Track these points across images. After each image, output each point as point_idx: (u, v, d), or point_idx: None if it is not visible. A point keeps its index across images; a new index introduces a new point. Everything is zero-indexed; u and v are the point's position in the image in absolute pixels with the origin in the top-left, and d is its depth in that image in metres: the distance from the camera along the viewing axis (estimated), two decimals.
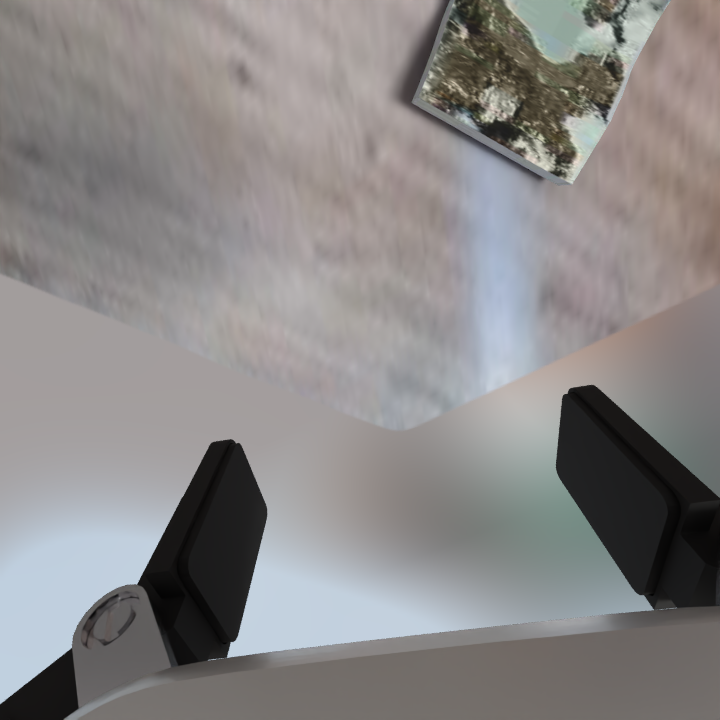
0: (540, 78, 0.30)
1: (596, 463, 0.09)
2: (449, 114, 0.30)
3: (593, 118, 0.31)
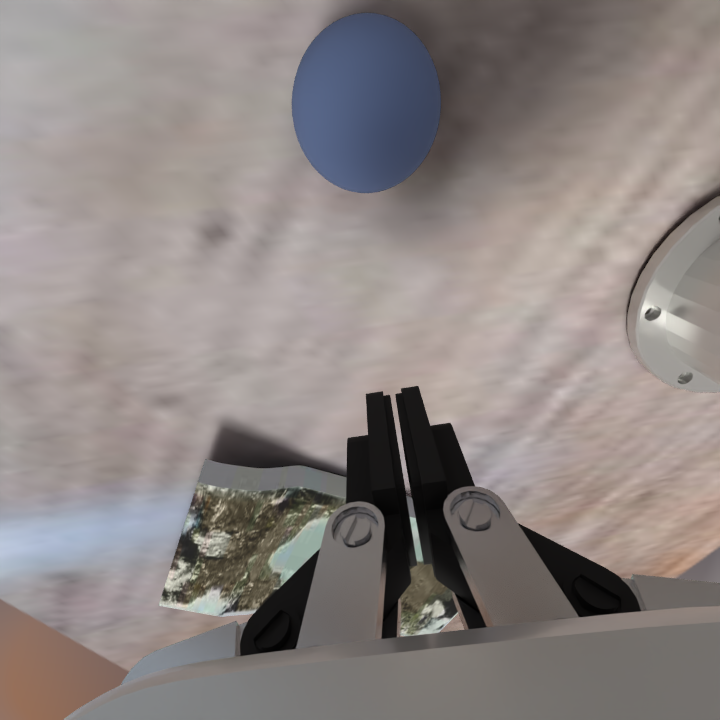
0: (252, 558, 0.30)
1: (405, 454, 0.10)
2: (190, 509, 0.25)
3: (222, 605, 0.31)
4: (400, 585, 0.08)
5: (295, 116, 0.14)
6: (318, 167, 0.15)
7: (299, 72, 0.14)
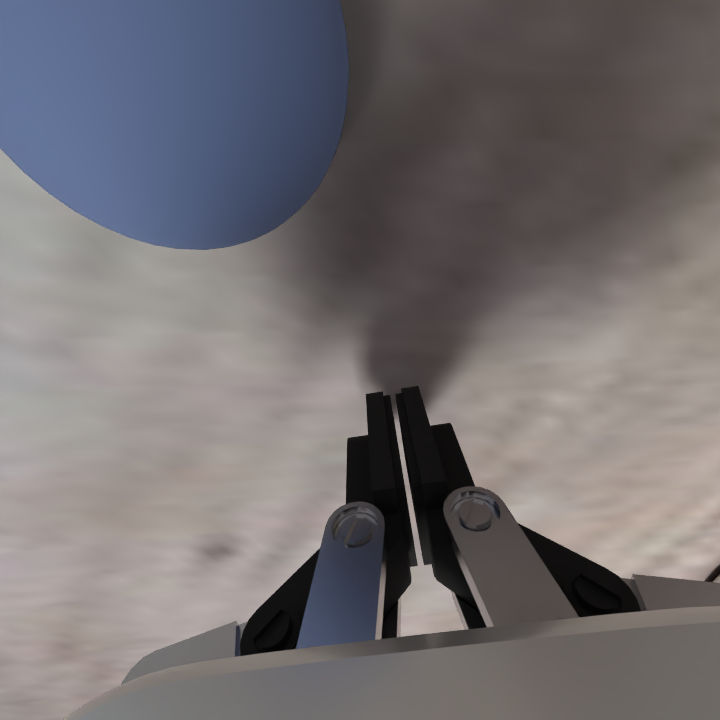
0: None
1: (405, 454, 0.10)
2: None
3: None
4: (400, 585, 0.08)
5: None
6: None
7: None
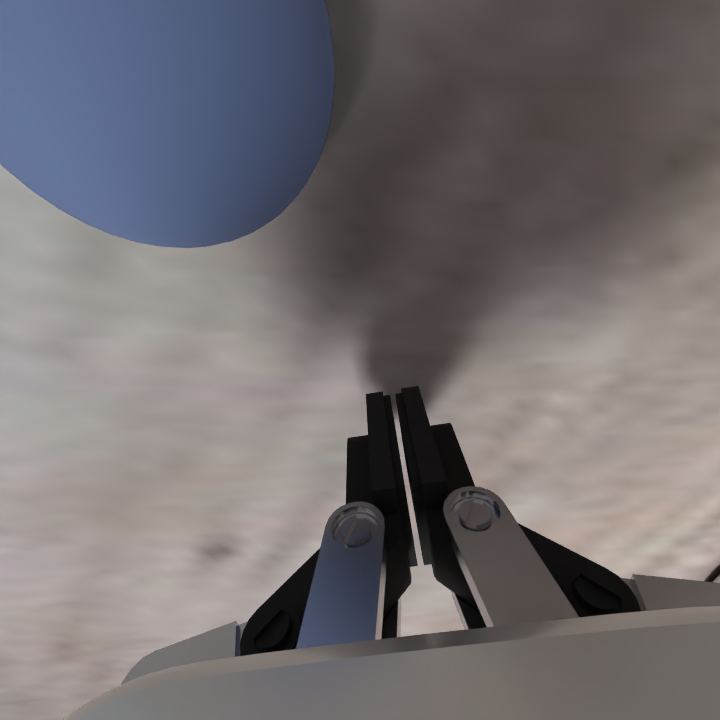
0: None
1: (405, 454, 0.10)
2: None
3: None
4: (400, 584, 0.08)
5: None
6: None
7: None
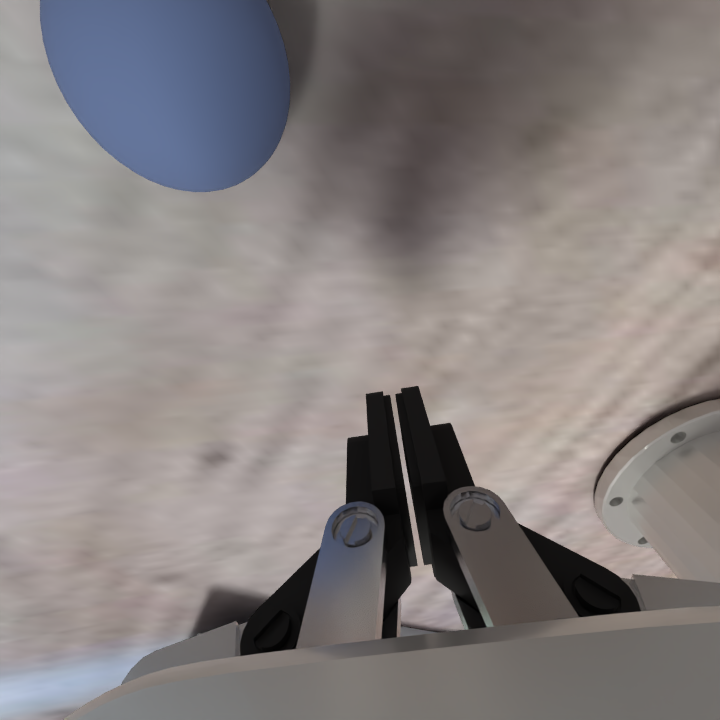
0: None
1: (405, 454, 0.10)
2: None
3: None
4: (400, 585, 0.08)
5: None
6: None
7: None
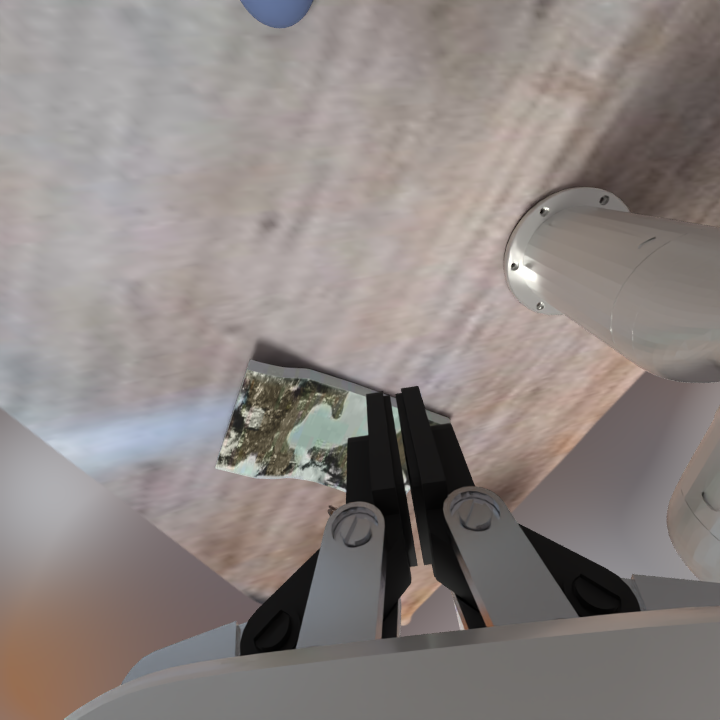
0: (276, 434, 0.45)
1: (405, 454, 0.10)
2: (241, 389, 0.40)
3: (256, 469, 0.47)
4: (400, 585, 0.08)
5: None
6: None
7: (265, 24, 0.28)
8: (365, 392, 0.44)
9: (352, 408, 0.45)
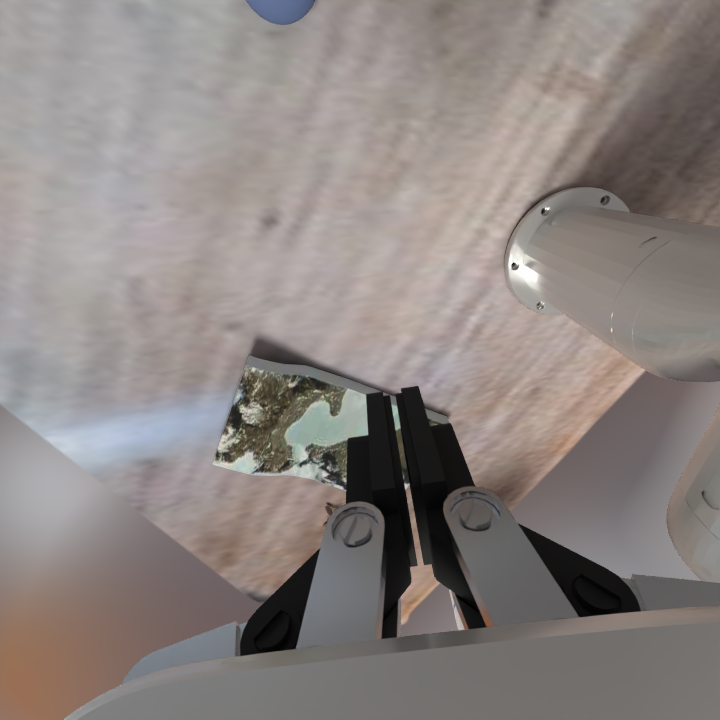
0: (274, 431, 0.45)
1: (405, 454, 0.10)
2: (239, 385, 0.40)
3: (253, 466, 0.46)
4: (400, 585, 0.08)
5: None
6: None
7: (268, 20, 0.28)
8: (363, 390, 0.44)
9: (350, 405, 0.45)
